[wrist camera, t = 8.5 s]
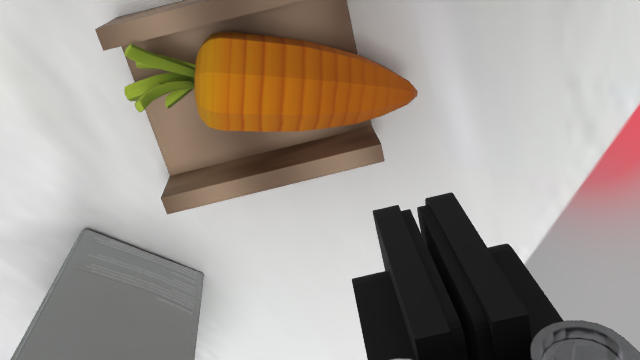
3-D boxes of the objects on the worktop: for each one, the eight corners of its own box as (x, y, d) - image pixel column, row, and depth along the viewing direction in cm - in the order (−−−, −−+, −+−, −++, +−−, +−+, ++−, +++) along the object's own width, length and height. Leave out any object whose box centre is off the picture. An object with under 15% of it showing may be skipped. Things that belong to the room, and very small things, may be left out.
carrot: (434, 34, 27) (110, 10, 25) (429, 138, 27) (106, 121, 25) (405, 55, 32) (133, 35, 30) (401, 142, 32) (129, 128, 30)
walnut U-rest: (336, -38, 30) (345, -34, 26) (372, 136, 34) (384, 161, 30) (116, 17, 30) (95, 29, 26) (178, 183, 34) (167, 214, 30)
